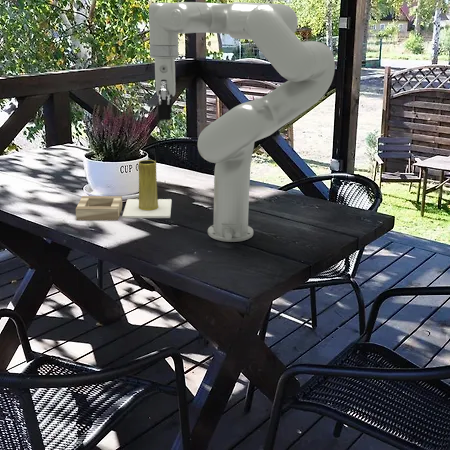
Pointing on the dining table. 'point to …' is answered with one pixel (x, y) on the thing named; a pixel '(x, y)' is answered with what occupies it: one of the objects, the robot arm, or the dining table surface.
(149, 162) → the vase
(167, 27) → the robot arm
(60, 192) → the dining table surface
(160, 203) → the board
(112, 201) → the holder
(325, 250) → the dining table surface
